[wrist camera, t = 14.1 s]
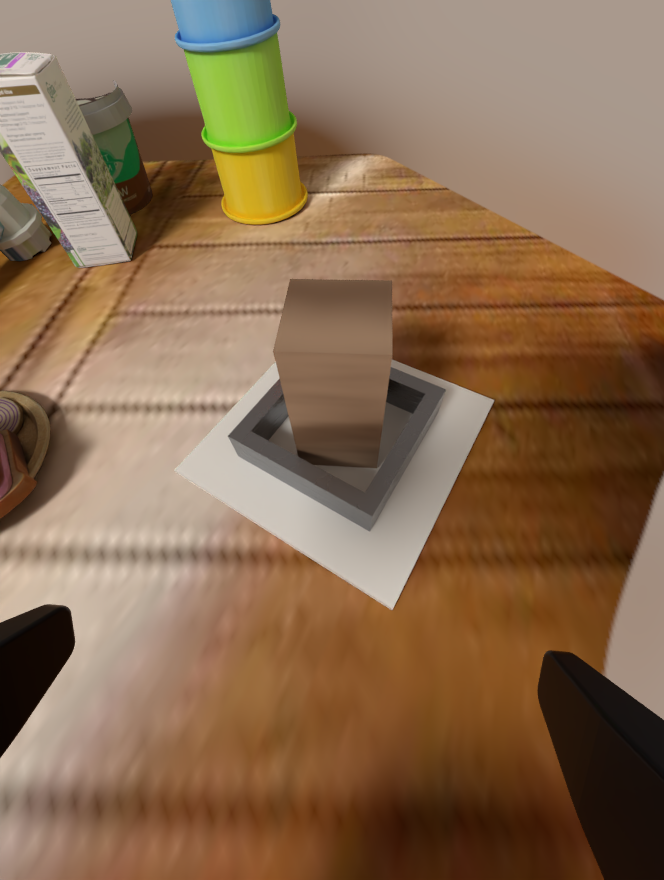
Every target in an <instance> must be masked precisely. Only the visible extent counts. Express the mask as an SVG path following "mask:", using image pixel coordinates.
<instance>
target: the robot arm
mask: <svg viewBox="0 0 664 880" xmlns="http://www.w3.org/2000/svg"><path fill="white" fill-rule="evenodd" d="M74 646H75V636H74V629H73V622H72V616H71V611H70V609H69V608H68V607H66V606H63V605H52V604H47V605H43V606H40V607H38V608H35V609H33V610H30V611H28V612H25V613H23V614H21V615H18V616H16V617H13V618H11V619H8V620H6V621H3V622H1V623H0V758H1V756H2V755H3V754H4V752H5V751H6V750H7V748H8V747H9V746H10V744H11V743H12V742H13V740H14V739H15V737H16V736H17V734H18V733H19V732H20V730H21V729H22V727H23V726H24V724H25V723H26V721H27V720H28V718H29V717H30V715H31V714H32V712H33V711H34V709H35V708H36V706H37V705H38V703H39V702H40V701H41V699H42V698H43V696H44V695H45V693H46V692H47V690H48V689H49V687H50V686H51V684H52V683H53V681H54V680H55V678H56V677H57V675H58V674H59V672H60V671H61V669H62V668H63V666H64V665H65V663H66V662H67V660H68V659H69V657H70V656H71V654H72V652H73V649H74ZM538 699H539V703H540V707H541V710H542V713H543V716H544V719H545V722H546V725H547V728H548V731H549V733H550V736H551V739H552V742H553V745H554V748H555V751H556V754H557V757H558V760H559V763H560V766H561V769H562V772H563V775H564V778H565V781H566V784H567V787H568V790H569V793H570V796H571V799H572V802H573V804H574V807H575V810H576V813H577V815H578V818H579V820H580V823H581V825H582V828H583V830H584V833H585V835H586V837H587V840H588V842H589V844H590V847H591V849H592V851H593V854H594V856H595V858H596V861H597V863H598V866H599V868H600V870H601V873H602V875H603V877H604V880H664V720H663V719H662V718H660V717H659V716H657V715H656V714H655V713H653V712H652V711H651V710H649V709H648V708H647V707H645V706H644V705H643V704H641V703H640V702H638V701H637V700H636V699H634V698H633V697H632V696H630V695H629V694H628V693H626V692H625V691H624V690H622V689H621V688H619V687H618V686H617V685H615V684H614V683H613V682H611V681H610V680H609V679H607V678H606V677H605V676H603V675H602V674H600V673H599V672H598V671H596V670H595V669H594V668H592V667H591V666H590V665H588V664H587V663H586V662H584V661H583V660H581V659H580V658H579V657H577V656H576V655H574V654H573V653H570V652H562V651H547V652H546V653H545V655H544V657H543V662H542V667H541V672H540V678H539V683H538Z"/></svg>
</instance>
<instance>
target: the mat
mask: <svg viewBox="0 0 664 880" xmlns="http://www.w3.org/2000/svg"><path fill="white" fill-rule="evenodd" d="M391 367H392V368H395V369H397V370H400V371H402V372H405V373H407V374H410V375H412V376H415V377H417V378H419V379H422V380H424V381H427V382H429V383H432V384H434V385H437V386H439V387H442V388H444V389H446V392H445V394H444V397H443V400H442V403H441V406H440V409H439V412H438V414H437V416H436V417H435V419H434V421H433V423H432V424H431V426H430V428H429V430H428V431H427V433H426V435H425V437H424V438H423V440H422V442H421V443H420V445H419V447H418V449H417V450H416V452H415V454H414V456H413V457H412V459H411V461H410V463H409V464H408V466H407V468H406V470H405V471H404V473H403V475H402V477H401V478H400V480H399V482H398V484H397V485H396V487H395V489H394V491H393V492H392V494H391V496H390V498H389V499H388V501H387V503H386V505H385V506H384V508H383V510H382V512H381V513H380V515H379V517H378V519H377V520H376V522H375V524H374V526H373V527H372V529H371V531H370V532H369V531H368V530H366V529H364V528H362V527H361V526H359V525H357V524H355V523H354V522H352V521H350V520H348V519H347V518H345V517H343V516H341V515H340V514H338V513H336V512H335V511H333V510H331V509H329V508H328V507H326V506H324V505H322V504H321V503H319V502H317V501H315V500H314V499H312V498H310V497H308V496H307V495H305V494H303V493H301V492H300V491H298V490H296V489H294V488H293V487H291V486H289V485H287V484H286V483H284V482H282V481H280V480H279V479H277V478H275V477H273V476H272V475H270V474H268V473H267V472H265V471H263V470H261V469H260V468H258V467H256V466H254V465H253V464H251V463H249V462H247V461H246V460H244V459H242V458H240V457H239V456H238V455H237V453H236V451H235V449H234V447H233V445H232V443H231V441H230V439H229V438H228V435H229V434H230V433H231V432H232V431H233V430H234V428H235V427H236V426H237V425H238V424H239V423H240V422H241V421H242V420H243V418H244V417H245V416H246V415H247V414H248V413H249V412H250V411H251V409H252V408H253V407H254V406H255V405H256V404H257V403H258V402H259V401H260V399H261V398H262V397H263V396H264V395H265V394H266V393H267V392H268V391H269V389H270V388H271V387H272V386H273V385H274V384H275V383H276V382H277V381H278V379H279V374H278V369H277V365H276V362H275V363H274V364H273V365H272V366H271V367H270V368H269V369H268V370H267V371H266V372H265V374H264V375H263V376H262V377H261V378H260V379H259V380H258V381H257V382H256V383H255V384H254V385H253V386H252V387H251V389H250V390H249V391H248V392H247V393H246V394H245V395H244V396H243V397H242V398H241V399H240V400H239V401H238V402H237V403H236V405H235V406H234V407H233V408H232V409H231V410H230V411H229V412H228V413H227V414H226V415H225V416H224V417H223V418H222V420H221V421H220V422H219V423H218V424H217V425H216V426H215V427H214V428H213V429H212V430H211V431H210V432H209V433H208V435H207V436H206V437H205V438H204V439H203V440H202V441H201V442H200V443H199V444H198V445H197V446H196V447H195V448H194V450H193V451H192V452H191V453H190V454H189V455H188V456H187V457H186V458H185V459H184V460H183V461H182V462H181V463H180V465H179V466H178V467H177V468H176V469H175V470H174V471H175V472H176V473H177V474H178V475H180V476H181V477H183V478H185V479H186V480H188V481H189V482H191V483H192V484H194V485H196V486H197V487H199V488H200V489H202V490H203V491H205V492H207V493H208V494H210V495H211V496H213V497H214V498H216V499H218V500H219V501H221V502H222V503H224V504H226V505H227V506H229V507H230V508H232V509H233V510H235V511H237V512H238V513H240V514H241V515H243V516H244V517H246V518H248V519H249V520H251V521H252V522H254V523H255V524H257V525H259V526H260V527H262V528H263V529H265V530H266V531H268V532H270V533H271V534H273V535H274V536H276V537H277V538H279V539H281V540H282V541H284V542H285V543H287V544H288V545H290V546H292V547H293V548H295V549H296V550H298V551H299V552H301V553H303V554H304V555H306V556H307V557H309V558H310V559H312V560H314V561H315V562H317V563H318V564H320V565H321V566H323V567H325V568H326V569H328V570H329V571H331V572H332V573H334V574H336V575H337V576H339V577H340V578H342V579H343V580H345V581H347V582H348V583H350V584H351V585H353V586H354V587H356V588H358V589H359V590H361V591H362V592H364V593H365V594H367V595H369V596H370V597H372V598H373V599H375V600H376V601H378V602H380V603H381V604H383V605H384V606H386V607H387V608H389V609H391V610H393V608H394V606H395V604H396V602H397V600H398V598H399V596H400V594H401V591H402V589H403V587H404V585H405V583H406V581H407V579H408V577H409V575H410V573H411V571H412V569H413V567H414V565H415V563H416V561H417V559H418V556H419V554H420V552H421V550H422V548H423V546H424V544H425V542H426V540H427V538H428V536H429V534H430V532H431V530H432V528H433V526H434V524H435V522H436V519H437V517H438V515H439V513H440V511H441V509H442V507H443V505H444V503H445V501H446V499H447V497H448V495H449V493H450V491H451V489H452V487H453V484H454V482H455V480H456V478H457V476H458V474H459V472H460V470H461V468H462V466H463V464H464V462H465V460H466V458H467V456H468V454H469V452H470V449H471V447H472V445H473V443H474V441H475V439H476V437H477V435H478V433H479V431H480V429H481V427H482V425H483V423H484V421H485V419H486V417H487V415H488V412H489V410H490V408H491V406H492V404H493V402H494V400H493V399H490V398H488V397H485V396H483V395H480V394H478V393H475V392H473V391H470V390H468V389H465V388H463V387H460V386H458V385H455V384H453V383H450V382H448V381H445V380H443V379H440V378H438V377H435V376H432V375H430V374H427V373H425V372H422V371H420V370H417V369H415V368H412V367H410V366H407V365H405V364H402V363H400V362H397V361H395V360H392V362H391ZM412 415H413V414H412V413H410V412H407V411H405V410H403V409H401V408H398V407H396V406H394V405H392V404H389V403H387V402H386V405H385V413H384V420H383V427H382V434H381V442H380V449H379V456H378V463H377V468H361V467H343V466H325V465H315V466H316V467H318V468H320V469H322V470H324V471H326V472H328V473H329V474H331V475H333V476H335V477H337V478H339V479H341V480H342V481H344V482H346V483H348V484H350V485H352V486H354V487H355V488H357V489H359V490H361V491H363V492H365V491H366V490H367V488H368V487H369V485H370V483H371V482H372V480H373V478H374V477H375V475H376V474H377V472H378V470H379V469H380V467H381V465H382V464H383V462H384V461H385V459H386V457H387V456H388V454H389V452H390V451H391V449H392V448H393V446H394V444H395V443H396V441H397V439H398V438H399V436H400V434H401V433H402V431H403V430H404V428H405V426H406V425H407V423H408V421H409V420H410V418H411V417H412ZM268 441H270V442H272V443H274V444H276V445H277V446H279V447H281V448H283V449H285V450H287V451H289V452H290V453H292V454H294V455H296V456H298V453H297V449H296V445H295V441H294V436H293V432H292V428H291V424H290V420H289V416H288V417H287V419H286V420H285V421H284V422H283V423H282V425H281V426H280V427H279V428H278V429H277V431H276V432H275V433H274V434H273V436H272V437H271V438H270V439H269V440H268Z"/></svg>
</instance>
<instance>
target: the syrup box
mask: <svg viewBox="0 0 664 880" xmlns="http://www.w3.org/2000/svg"><path fill="white" fill-rule="evenodd" d="M0 152H1V153H2V155H3V157H4V158H5V159H6V161H7V163H8V164H9V166H10V167H11V169H12V170H13V172H14V173H15V175H16V176H17V178H18V179H19V181H20V183H21V184H22V186H23V187H24V189H25V190H26V192H27V193H28V195H29V196H30V198H31V199H32V201H33V202H34V204H35V205H36V207H37V208H38V210H39V211H40V213H41V214H42V216H43V217H44V219H45V220H46V222H47V223H48V225H49V227H50V228H51V230H52V231H53V233H54V234H55V236H56V237H57V239H58V240H59V242H60V243H61V245H62V246H63V248H64V249H65V251H66V252H67V254H68V255H69V257H70V259H71V260H72V262H73V263H74V265H75V266H76V267H78V268H82V267H90V266H98V265H105V264H112V263H119V262H125V261H131V259H132V255H133V250H134V246H135V242H136V237H137V230H136V228H135V226H134V223H133V221H132V219H131V217H130V215H129V213H128V211H127V208H126V206H125V204H124V202H123V200H122V198H121V196H120V194H119V191H118V189H117V187H116V185H115V183H114V180H113V178H112V176H111V174H110V172H109V170H108V168H107V165H106V163H105V161H104V159H103V157H102V155H101V153H100V150H99V148H98V146H97V144H96V142H95V140H94V137H93V135H92V133H91V131H90V129H89V127H88V125H87V123H86V121H85V118H84V116H83V114H82V112H81V110H80V108H79V106H78V104H77V101H76V99H75V97H74V95H73V93H72V91H71V89H70V86H69V85H68V82H67V80H66V78H65V76H64V74H63V72H62V69H61V67H60V65H59V63H58V61H57V58H56V56H53V55H52V54H44V53H31V52H29V53H28V52H27V53H26V52H18V53H6V54H0Z"/></svg>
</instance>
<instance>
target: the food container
mask: <svg viewBox="0 0 664 880" xmlns="http://www.w3.org/2000/svg"><path fill="white" fill-rule="evenodd" d="M113 82H114V85H115V90H114V91H113V92H112V93H108V94H106V95H103V96H99V97H95V98H89V99H76V101H77V104H78V106H79V108H80V110H81V112H82V114H83V116H84V118H85V121H86V123H87V125H88V127H89V129H90V131H91V133H92V135H93V137H94V140H95V142H96V144H97V146H98V148H99V150H100V153H101V155H102V157H103V159H104V161H105V163H106V165H107V168H108V170H109V172H110V174H111V176H112V178H113V180H114V183H115V185H116V187H117V189H118V191H119V194H120V196H121V198H122V200H123V202H124V204H125V206H126V208H127V211H128V213H129V215H130V214H132V213H135V212H137V211H138V210H140V209H142V208H143V207H145V206H146V205H147V204H148V203H149V202H150V200H151V198H152V190H151V187H150V184H149V181H148V178H147V174H146V171H145V168H144V165H143V162H142V159H141V156H140V152H139V149H138V146H137V143H136V140H135V136H134V133H133V130H132V127H131V124H130V121H129V118H128V117H129V116H130V115H131V113H132V107H131V106H130V104H129V102H128V100H127V98H126V97H125V95H124V93H123V91H122V90H121V89H120V88H119V87H118V85H117V84H116V82H115V81H114V80H113Z"/></svg>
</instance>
